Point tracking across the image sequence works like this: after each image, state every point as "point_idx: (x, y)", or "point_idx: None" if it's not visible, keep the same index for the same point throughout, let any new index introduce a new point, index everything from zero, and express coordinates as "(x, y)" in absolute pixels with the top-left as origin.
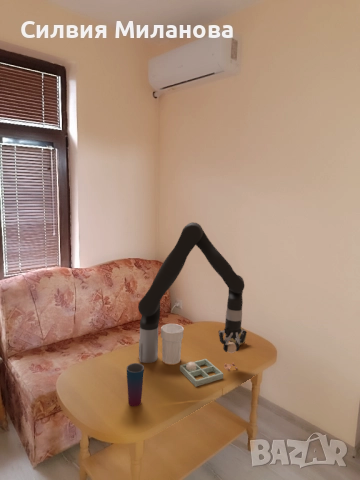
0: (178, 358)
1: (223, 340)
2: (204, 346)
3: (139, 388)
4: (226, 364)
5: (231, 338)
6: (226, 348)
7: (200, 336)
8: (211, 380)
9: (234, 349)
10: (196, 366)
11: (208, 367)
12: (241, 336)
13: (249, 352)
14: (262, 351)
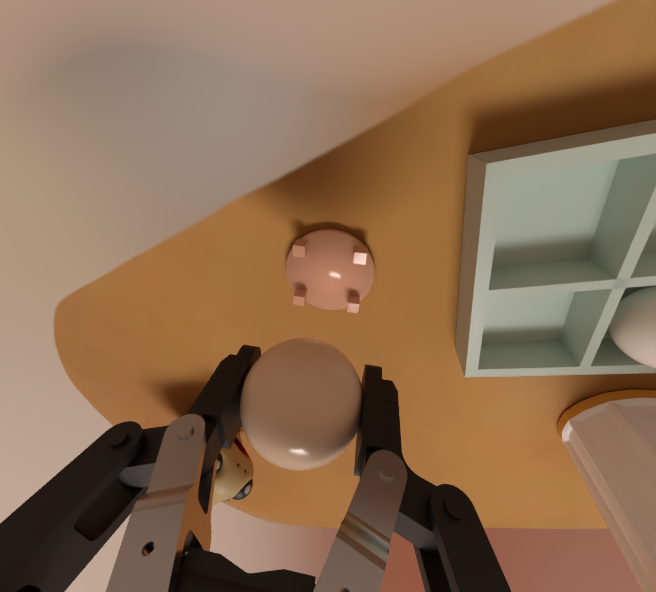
0: (635, 425)
1: (455, 565)
2: None
3: None
4: (349, 301)
5: (230, 460)
6: (378, 401)
7: (342, 488)
8: (626, 130)
9: (285, 360)
10: (646, 319)
11: (538, 288)
12: (83, 538)
13: (171, 362)
14: (105, 351)
